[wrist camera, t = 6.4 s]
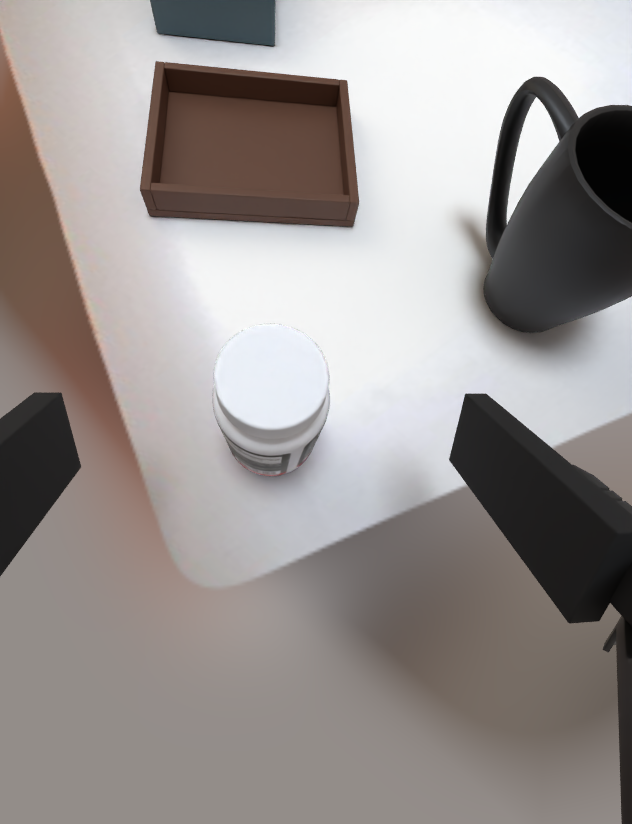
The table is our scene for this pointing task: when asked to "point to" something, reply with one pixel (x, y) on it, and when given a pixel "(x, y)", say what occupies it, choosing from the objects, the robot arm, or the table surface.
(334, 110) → the tray
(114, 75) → the table surface
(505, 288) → the mug
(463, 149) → the table surface
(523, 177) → the table surface
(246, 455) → the pill bottle
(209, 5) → the console
